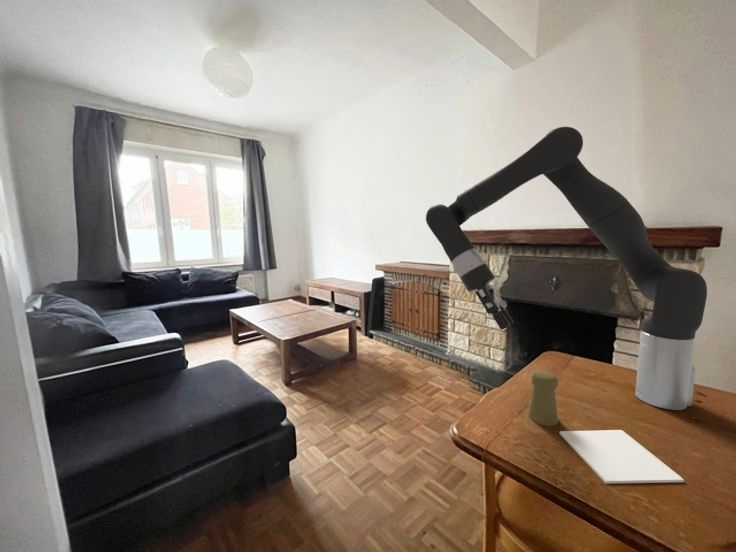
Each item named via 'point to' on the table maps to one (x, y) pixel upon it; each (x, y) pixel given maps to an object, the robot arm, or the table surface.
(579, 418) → the table surface
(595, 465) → the white mat
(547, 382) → the cork
